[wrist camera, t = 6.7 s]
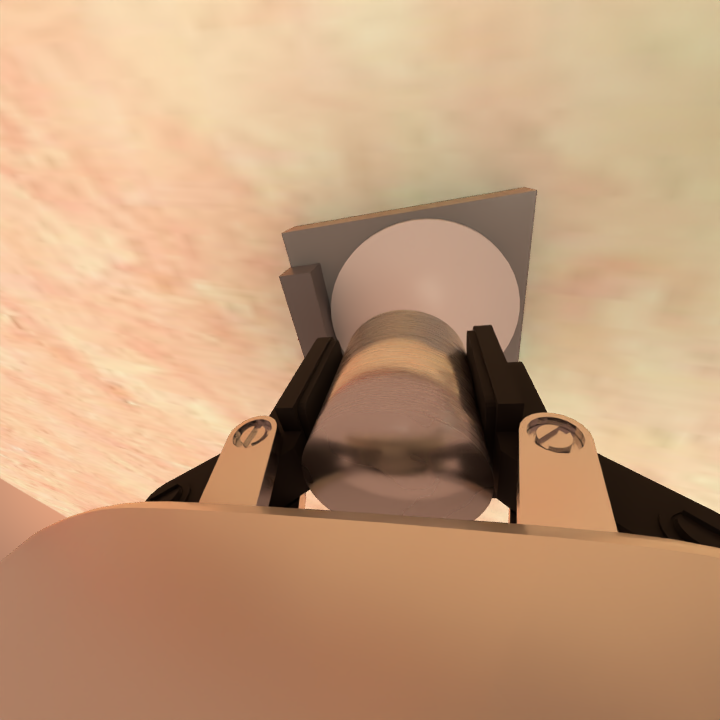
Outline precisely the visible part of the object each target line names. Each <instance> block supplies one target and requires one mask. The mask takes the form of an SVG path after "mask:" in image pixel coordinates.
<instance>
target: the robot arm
mask: <svg viewBox="0 0 720 720" xmlns="http://www.w3.org/2000/svg"><path fill="white" fill-rule="evenodd" d="M466 355H467V360H468V364H469V369H470V373H471V378H472V382H473V387H474V391H475V396H476V400H477V405H478V409H479V414H480V418H481V423H482V428H483V432H484V437H485V441H486V445H487V449H488V454H489V458H490V463H491V467H492V472H493V476H494V493H493V497H492V498H497V499H498V500H500V501H501V502H502V503H504V504H505V505H506V506H507V507H509V517H508V523H500V522H486V521H473V520H459V519H445V518H432V517H418V516H403V515H389V514H374V513H359V512H345V511H330V510H315V509H305V503H306V492H307V491H308V490H310V489H309V487H308V485H307V483H306V481H305V479H304V476H303V472H302V465H301V464H302V455H303V451H304V448H305V446H306V444H307V441H308V439H309V436H310V434H311V432H312V429H313V427H314V425H315V422H316V420H317V417H318V415H319V413H320V410H321V408H322V405H323V403H324V401H325V398H326V396H327V394H328V391H329V389H330V386H331V384H332V382H333V379H334V377H335V374H336V372H337V370H338V367H339V365H340V363H341V360H342V358H343V355H342V351H341V346H340V343H339V341H338V340H334V338H333V337H322V338H317V339H316V341H315V342H314V344H313V345H312V347H311V349H310V350H309V352H308V354H307V355H306V357H305V359H304V360H303V362H302V363H301V365H300V367H299V368H298V370H297V372H296V373H295V375H294V376H293V378H292V380H291V381H290V383H289V385H288V386H287V388H286V389H285V391H284V393H283V394H282V396H281V398H280V399H279V401H278V403H277V404H276V406H275V407H274V409H273V411H272V412H271V414H270V416H257V417H253V418H250V419H248V420H246V421H244V422H242V423H241V424H239V425H238V426H236V427H235V428H234V429H233V430H232V431H231V433H230V435H229V436H228V438H227V440H226V443H225V445H224V447H223V449H222V452H221V454H219V455H217V456H215V457H213V458H211V459H210V460H208V461H206V462H204V463H202V464H200V465H199V466H197V467H195V468H193V469H191V470H189V471H188V472H186V473H184V474H182V475H180V476H178V477H177V478H175V479H173V480H171V481H169V482H167V483H166V484H164V485H163V486H161V487H159V488H158V489H157V490H156V491H155V492H153V493H152V494H151V495H150V496H149V497H148V499H147V500H146V501H145V502H134V503H123V504H117V505H112V506H106V507H101V508H96V509H93V510H89V511H86V512H83V513H80V514H76V515H73V516H70V517H68V518H65V519H63V520H60V521H58V522H56V523H54V524H51V525H49V526H48V527H45V528H43V529H42V530H40V531H38V532H37V533H35V534H34V535H32V536H31V537H30V538H28V539H27V540H26V541H24V542H23V543H22V544H21V545H19V546H18V547H17V548H16V549H15V550H13V552H11V553H10V554H9V555H7V556H6V557H5V558H4V559H3V560H2V561H1V562H0V720H720V514H718V513H716V512H715V511H713V510H711V509H709V508H707V507H705V506H703V505H701V504H699V503H697V502H695V501H693V500H691V499H689V498H687V497H685V496H683V495H681V494H678V493H676V492H674V491H672V490H670V489H668V488H666V487H664V486H662V485H660V484H658V483H656V482H654V481H652V480H650V479H648V478H646V477H644V476H642V475H640V474H638V473H636V472H634V471H632V470H630V469H628V468H626V467H624V466H622V465H620V464H618V463H616V462H614V461H612V460H610V459H608V458H606V457H604V456H602V455H600V454H598V453H597V451H596V447H595V443H594V439H593V437H592V435H591V433H590V432H589V431H588V430H587V429H586V428H585V427H584V426H583V425H582V424H580V423H579V422H577V421H576V420H574V419H572V418H569V417H567V416H564V415H560V414H555V413H547V411H546V409H545V407H544V405H543V403H542V401H541V399H540V397H539V395H538V393H537V391H536V389H535V387H534V385H533V383H532V381H531V379H530V377H529V375H528V373H527V371H526V369H525V366H524V365H523V363H522V362H507V360H506V358H505V356H504V353H503V351H502V349H501V346H500V344H499V341H498V339H497V337H496V334H495V332H494V329H493V327H492V325H480V326H473V330H470V331H467V338H466Z"/></svg>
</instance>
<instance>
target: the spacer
mask: <svg viewBox="0 0 720 720" xmlns="http://www.w3.org/2000/svg"><path fill="white" fill-rule="evenodd" d="M301 465H302V472H303V476H304V479H305V481H306V483H307V485H308V487H309V489H310V490H311V491H312V493H313V494H314V495H315V497H316V498H317V499H318V500H319V501H320V502H321V503H322V504H323V505H325V506H326V507H327V508H328V509H330V510H331V511H345V512H359V513H374V514H389V515H403V516H418V517H432V518H445V519H459V520H475V519H476V518H478V517H479V516H480V515H481V514H482V513H483V512H484V511H485V509H486V508H487V507H488V505H489V504H490V501H491V499H492V497H493V493H494V476H493V472H492V467H491V463H490V458H489V454H488V449H487V445H486V441H485V437H484V432H483V428H482V423H481V418H480V414H479V409H478V405H477V400H476V396H475V391H474V387H473V382H472V378H471V373H470V369H469V364H468V360H467V355H466V350H465V347H464V345H463V342H462V341H461V339H460V337H459V336H458V334H457V333H456V332H455V331H454V330H453V329H452V328H451V327H450V326H449V325H448V324H447V323H445V322H444V321H442V320H441V319H439V318H437V317H435V316H433V315H430V314H427V313H424V312H420V311H415V310H394V311H388V312H385V313H381V314H379V315H377V316H374V317H372V318H371V319H369V320H367V321H366V322H365V323H363V324H362V325H361V326H360V327H359V328H358V329H357V330H356V331H355V333H354V334H353V336H352V337H351V339H350V341H349V343H348V346H347V348H346V351H345V353H344V355H343V358H342V360H341V363H340V365H339V367H338V370H337V372H336V374H335V377H334V379H333V382H332V384H331V386H330V389H329V391H328V394H327V396H326V398H325V401H324V403H323V405H322V408H321V410H320V413H319V415H318V417H317V420H316V422H315V425H314V427H313V429H312V432H311V434H310V436H309V439H308V441H307V444H306V446H305V448H304V451H303V455H302V464H301Z"/></svg>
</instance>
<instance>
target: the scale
mask: <svg viewBox="0 0 720 720" xmlns="http://www.w3.org/2000/svg"><path fill="white" fill-rule="evenodd" d="M536 195H537V190H534V189H530V188H526V187H523V188H517V189H511V190H505V191H499V192H494V193H488V194H482V195H476V196H470V197H465V198H459V199H453V200H447V201H441V202H435V203H430V204H424V205H418V206H412V207H406V208H400V209H395V210H389V211H383V212H377V213H371V214H366V215H360V216H354V217H348V218H342V219H336V220H331V221H325V222H319V223H313V224H307V225H301V226H296V227H293V228H291V229H289V230H287V231H285V232H283V233H282V237H283V240H284V244H285V247H286V250H287V254H288V257H289V261H290V264H291V268H289V269H288V270H287V271H285V272H284V273H283V274H282V275H280V276H279V278H280V281H281V284H282V288H283V291H284V294H285V297H286V300H287V304H288V307H289V310H290V313H291V316H292V320H293V323H294V326H295V329H296V332H297V336H298V340H299V342H300V345H301V348H302V352H303V355H304V358H305V357H306V355H307V354H308V352H309V350H310V349H311V347H312V345H313V344H314V342H315V341H316V339H317V338H322V337H333V338H334V340H338V341H339V343H340V346H341V351H342V355H344V353H345V351H346V348H347V346H348V343H349V341H350V339H351V337H352V336H353V334H354V333H355V331H356V330H357V329H358V328H359V327H360V326H361V325H362V324H363V323H365V322H366V321H367V320H369V319H371V318H372V317H374V316H377V315H379V314H381V313H385V312H388V311H394V310H415V311H420V312H424V313H427V314H430V315H433V316H435V317H437V318H439V319H441V320H442V321H444V322H445V323H447V324H448V325H449V326H450V327H451V328H452V329H453V330H454V331H455V332H456V333H457V334H458V336H459V337H460V339H461V341H462V342H463V345H464V347H465V350H466V338H467V331H470V330H473V326H480V325H492V327H493V329H494V332H495V334H496V337H497V339H498V341H499V344H500V346H501V349H502V351H503V353H504V356H505V358H506V360H507V362H518V359H519V349H520V340H521V331H522V322H523V313H524V304H525V295H526V286H527V277H528V268H529V259H530V249H531V240H532V231H533V222H534V213H535V204H536Z"/></svg>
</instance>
